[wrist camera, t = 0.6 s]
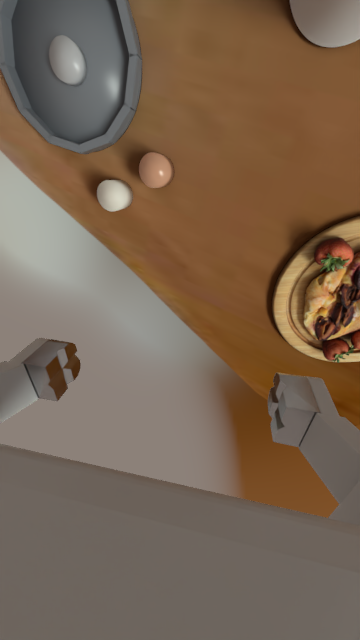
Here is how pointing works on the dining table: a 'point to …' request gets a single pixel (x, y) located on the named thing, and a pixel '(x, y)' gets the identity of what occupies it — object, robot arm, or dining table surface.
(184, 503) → the robot arm
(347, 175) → the dining table surface
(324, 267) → the wooden plate with food
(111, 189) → the white egg
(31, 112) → the groove tray
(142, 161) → the brown egg
